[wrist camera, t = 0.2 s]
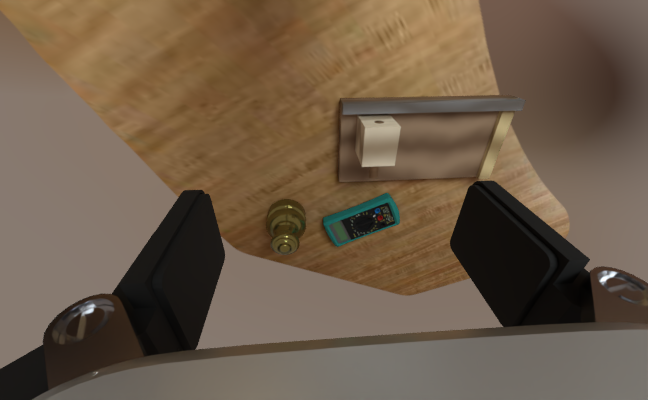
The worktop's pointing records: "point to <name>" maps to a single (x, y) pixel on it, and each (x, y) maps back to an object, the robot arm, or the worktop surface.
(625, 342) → the robot arm
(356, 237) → the digital multimeter
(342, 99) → the board
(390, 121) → the block with top hole
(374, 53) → the worktop surface
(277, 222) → the brass pawn finial
